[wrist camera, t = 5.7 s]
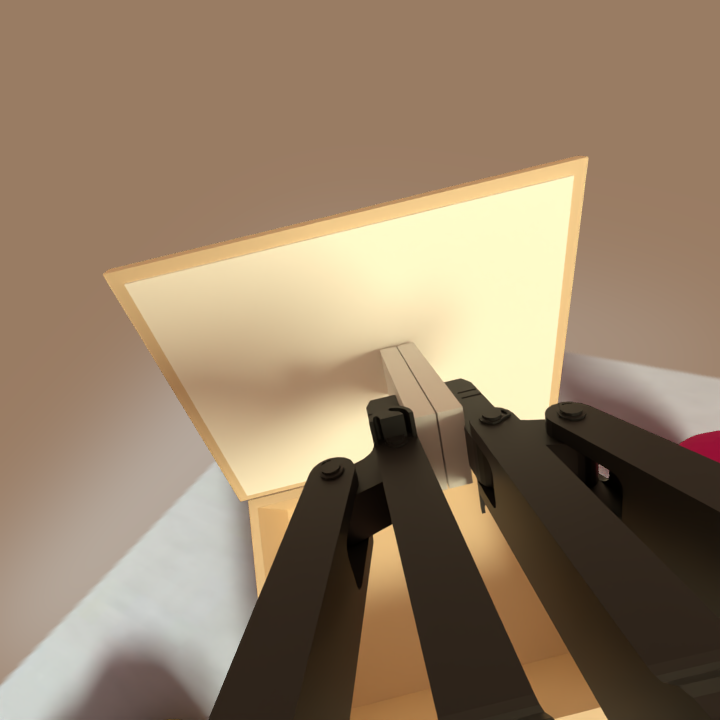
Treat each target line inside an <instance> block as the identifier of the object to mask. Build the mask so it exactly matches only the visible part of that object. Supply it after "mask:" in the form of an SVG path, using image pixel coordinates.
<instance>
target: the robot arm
mask: <svg viewBox="0 0 720 720" xmlns="http://www.w3.org/2000/svg"><path fill="white" fill-rule="evenodd" d="M380 355H381V360H382V364H383V369H384V374H385V379H386V384H387V388H388V393H389V396H387V397H383V398H379V399H374V400H370V401H369V403H368V405H367V407H366V410H367V414H368V419H369V426H370V430H371V434H372V439H373V443H374V447H373V450H372V451H371V453H370V454H369V455H368V456H366V457H365V458H364V459H362V460H360V461H359V462H356V463H353V462H352V461H351V460H350V459H348V458H345V457H334V458H329V459H326V460H324V461H322V462H320V463H319V464H317V465H316V466H315V467H313V469H312V470H311V472H310V473H309V476H308V478H307V481H306V483H305V485H304V488H303V490H302V493H301V495H300V498H299V500H298V502H297V505H296V507H295V510H294V512H293V515H292V517H291V520H290V522H289V524H288V527H287V529H286V532H285V534H284V537H283V539H282V541H281V544H280V546H279V549H278V551H277V554H276V556H275V559H274V561H273V563H272V566H271V568H270V571H269V573H268V576H267V578H266V580H265V583H264V585H263V588H262V590H261V593H260V595H259V598H258V600H257V602H256V605H255V607H254V610H253V612H252V615H251V617H250V619H249V622H248V624H247V627H246V629H245V632H244V634H243V637H242V639H241V641H240V644H239V646H238V649H237V651H236V654H235V656H234V658H233V661H232V663H231V666H230V668H229V671H228V673H227V675H226V678H225V680H224V683H223V685H222V688H221V690H220V693H219V695H218V697H217V700H216V702H215V705H214V707H213V710H212V712H211V714H210V717H209V719H208V720H350V714H351V707H352V700H353V692H354V685H355V677H356V670H357V662H358V655H359V647H360V640H361V633H362V625H363V618H364V610H365V603H366V595H367V588H368V581H369V573H370V566H371V558H372V551H373V543H374V540H373V535H374V534H376V533H378V532H379V531H381V530H383V529H385V528H387V527H388V526H390V525H392V524H393V529H394V533H395V537H396V542H397V546H398V550H399V554H400V559H401V563H402V567H403V572H404V576H405V580H406V584H407V589H408V593H409V597H410V602H411V606H412V610H413V615H414V619H415V623H416V627H417V632H418V636H419V640H420V645H421V649H422V653H423V658H424V662H425V666H426V670H427V675H428V679H429V683H430V688H431V692H432V696H433V700H434V705H435V709H436V713H437V718H438V720H554V718H553V717H552V716H550V715H549V714H547V713H546V712H544V710H543V708H542V707H541V705H540V704H539V702H538V700H537V698H536V696H535V694H534V691H533V689H532V687H531V685H530V682H529V680H528V678H527V676H526V674H525V671H524V669H523V667H522V665H521V663H520V660H519V658H518V656H517V654H516V652H515V649H514V647H513V645H512V643H511V641H510V638H509V636H508V634H507V632H506V630H505V627H504V625H503V623H502V621H501V619H500V616H499V614H498V612H497V610H496V608H495V605H494V603H493V601H492V599H491V597H490V594H489V592H488V590H487V588H486V586H485V583H484V581H483V579H482V577H481V575H480V572H479V570H478V568H477V566H476V563H475V561H474V559H473V557H472V555H471V552H470V550H469V548H468V546H467V544H466V541H465V539H464V537H463V535H462V533H461V530H460V528H459V526H458V524H457V522H456V519H455V517H454V515H453V513H452V511H451V508H450V506H449V504H448V502H447V500H446V497H445V495H444V493H443V491H442V490H446V489H448V487H449V489H450V488H455V487H459V486H463V485H467V484H471V483H473V479H472V472H471V469H472V471H473V473H474V474H475V476H476V478H477V484H478V492H479V499H480V507H481V511H482V514H483V513H486V511H485V505H486V506H487V508H488V510H489V511H490V513H491V515H492V517H493V518H494V520H495V522H496V524H497V526H498V527H499V529H500V531H501V533H502V534H503V536H504V538H505V540H506V541H507V543H508V545H509V547H510V548H511V550H512V552H513V554H514V555H515V557H516V559H517V561H518V563H519V564H520V566H521V568H522V570H523V571H524V573H525V575H526V577H527V578H528V580H529V582H530V584H531V585H532V587H533V589H534V591H535V592H536V594H537V596H538V598H539V600H540V601H541V603H542V605H543V607H544V608H545V610H546V612H547V614H548V615H549V617H550V619H551V621H552V622H553V624H554V626H555V628H556V629H557V631H558V633H559V635H560V637H561V638H562V640H563V642H564V644H565V645H566V647H567V649H568V651H569V652H570V654H571V656H572V658H573V659H574V661H575V663H576V665H577V666H578V668H579V670H580V672H581V674H582V675H583V677H584V679H585V681H586V682H587V684H588V686H589V688H590V689H591V691H592V693H593V695H594V696H595V698H596V700H597V702H598V703H599V705H600V707H601V709H602V711H603V712H604V714H605V716H606V718H607V719H608V720H720V463H719V462H717V461H714V460H712V459H710V458H707V457H705V456H703V455H701V454H698V453H696V452H694V451H691V450H689V449H687V448H685V447H682V446H680V445H678V444H675V443H673V442H671V441H669V440H666V439H664V438H662V437H660V436H657V435H655V434H653V433H650V432H648V431H646V430H644V429H641V428H639V427H637V426H634V425H632V424H630V423H628V422H625V421H623V420H621V419H618V418H616V417H614V416H612V415H609V414H607V413H605V412H602V411H600V410H598V409H596V408H593V407H591V406H588V405H585V404H582V403H575V402H561V403H557V404H554V405H551V406H550V407H548V408H547V409H546V411H545V419H539V420H520V419H519V418H518V417H517V416H516V415H515V414H514V413H513V412H511V411H510V410H508V409H504V408H501V407H494V406H493V405H492V404H491V403H490V402H489V400H488V399H487V398H486V397H485V396H484V395H483V394H481V392H480V391H479V390H478V389H477V388H476V387H475V386H474V385H473V384H472V382H470V381H467V380H464V379H462V378H460V379H455V380H451V381H447V382H443V381H442V379H441V378H440V377H439V375H438V374H437V373H436V371H435V370H434V369H433V367H432V366H431V365H430V364H429V362H428V361H427V360H426V358H425V357H424V356H423V354H422V353H421V352H420V350H419V349H418V348H417V347H416V345H415V344H414V343H413V342H412V343H407V344H403V345H399V346H397V347H396V346H395V347H390V348H386V349H382V350H380ZM599 464H600V465H602V466H603V467H605V468H607V469H608V470H609V478H606V477H604V476H602V475H601V474H599V473H598V468H599ZM447 484H448V486H447Z"/></svg>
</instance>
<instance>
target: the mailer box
mask: <svg viewBox="0 0 720 720" xmlns="http://www.w3.org/2000/svg"><path fill="white" fill-rule="evenodd" d="M471 472H472V479H473V483H471V484H467V485H463V486H459V487H455V488H450V489H449V487H448V489H446V490H442V491H443V493H444V495H445V497H446V500H447V502H448V504H449V506H450V508H451V511H452V513H453V515H454V517H455V519H456V522H457V524H458V526H459V528H460V530H461V533H462V535H463V537H464V539H465V541H466V544H467V546H468V548H469V550H470V552H471V555H472V557H473V559H474V561H475V563H476V566H477V568H478V570H479V572H480V575H481V577H482V579H483V581H484V583H485V586H486V588H487V590H488V592H489V594H490V597H491V599H492V601H493V603H494V605H495V608H496V610H497V612H498V614H499V616H500V619H501V621H502V623H503V625H504V627H505V630H506V632H507V634H508V636H509V638H510V641H511V643H512V645H513V647H514V649H515V652H516V654H517V656H518V658H519V660H520V663H521V665H522V667H523V669H524V671H525V674H526V676H527V678H528V680H529V682H530V685H531V687H532V689H533V691H534V694H535V696H536V698H537V700H538V702H539V704H540V705H541V707H542V708H543V710H544V712H546V713H547V714H549V715H550V716H552V717H553V718H554V720H608V719H607V718H606V716H605V714H604V712H603V711H602V709H601V707H600V705H599V703H598V702H597V700H596V698H595V696H594V695H593V693H592V691H591V689H590V688H589V686H588V684H587V682H586V681H585V679H584V677H583V675H582V674H581V672H580V670H579V668H578V666H577V665H576V663H575V661H574V659H573V658H572V656H571V654H570V652H569V651H568V649H567V647H566V645H565V644H564V642H563V640H562V638H561V637H560V635H559V633H558V631H557V629H556V628H555V626H554V624H553V622H552V621H551V619H550V617H549V615H548V614H547V612H546V610H545V608H544V607H543V605H542V603H541V601H540V600H539V598H538V596H537V594H536V592H535V591H534V589H533V587H532V585H531V584H530V582H529V580H528V578H527V577H526V575H525V573H524V571H523V570H522V568H521V566H520V564H519V563H518V561H517V559H516V557H515V555H514V554H513V552H512V550H511V548H510V547H509V545H508V543H507V541H506V540H505V538H504V536H503V534H502V533H501V531H500V529H499V527H498V526H497V524H496V522H495V520H494V518H493V517H492V515H491V513H490V511H489V510H488V508H487V506H486V505H485V511H486V513H483V514H482V511H481V507H480V499H479V492H478V484H477V478H476V476H475V474H474V473H473V471H472V469H471ZM447 486H448V484H447ZM303 488H304V487H301V488H297V489H293V490H289V491H285V492H281V493H277V494H273V495H269V496H265V497H261V498H257V499H253V500H249V501H248V505H249V515H250V524H251V534H252V544H253V554H254V564H255V574H256V584H257V594H258V598H259V595H260V593H261V590H262V588H263V585H264V583H265V580H266V578H267V576H268V573H269V571H270V568H271V566H272V563H273V561H274V559H275V556H276V554H277V551H278V549H279V546H280V544H281V541H282V539H283V537H284V534H285V532H286V529H287V527H288V524H289V522H290V520H291V517H292V515H293V512H294V510H295V507H296V505H297V502H298V500H299V498H300V495H301V493H302V490H303ZM373 540H374V543H373V551H372V558H371V566H370V573H369V581H368V588H367V595H366V603H365V610H364V618H363V625H362V633H361V640H360V647H359V655H358V662H357V670H356V677H355V685H354V692H353V700H352V707H351V714H350V720H438V718H437V713H436V709H435V705H434V700H433V696H432V692H431V688H430V683H429V679H428V675H427V670H426V666H425V662H424V658H423V653H422V649H421V645H420V640H419V636H418V632H417V627H416V623H415V619H414V615H413V610H412V606H411V602H410V597H409V593H408V589H407V584H406V580H405V576H404V572H403V567H402V563H401V559H400V554H399V550H398V546H397V542H396V537H395V533H394V529H393V524H392V525H390V526H388V527H387V528H385V529H383V530H381V531H379V532H378V533H376V534H374V535H373Z"/></svg>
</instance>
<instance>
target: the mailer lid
mask: <svg viewBox="0 0 720 720" xmlns="http://www.w3.org/2000/svg"><path fill="white" fill-rule="evenodd" d="M587 165H588V157H586V156H575V157H571V158H567V159H563V160H558V161H554V162H550V163H546V164H542V165H538V166H534V167H530V168H526V169H521V170H517V171H513V172H509V173H505V174H501V175H496V176H492V177H488V178H484V179H480V180H476V181H472V182H468V183H463V184H460V185H455V186H451V187H447V188H443V189H439V190H434V191H430V192H426V193H423V194H418V195H414V196H410V197H406V198H401V199H398V200H393V201H389V202H385V203H381V204H377V205H373V206H368V207H364V208H360V209H356V210H352V211H348V212H344V213H340V214H335V215H331V216H328V217H323V218H319V219H315V220H311V221H307V222H303V223H298V224H294V225H290V226H286V227H282V228H278V229H273V230H269V231H266V232H261V233H257V234H253V235H249V236H244V237H240V238H236V239H232V240H228V241H224V242H220V243H215V244H211V245H207V246H203V247H199V248H195V249H191V250H186V251H183V252H179V253H174V254H170V255H166V256H162V257H158V258H153V259H150V260H145V261H142V262H137V263H133V264H129V265H125V266H120V267H116V268H112V269H109V270H108V271H107V272H105V273H104V274H103V276H104V278H105V279H106V281H107V283H108V284H109V286H110V288H111V289H112V291H113V292H114V294H115V296H116V297H117V299H118V301H119V302H120V304H121V306H122V307H123V309H124V310H125V312H126V314H127V315H128V317H129V319H130V320H131V322H132V324H133V325H134V327H135V329H136V330H137V332H138V334H139V335H140V337H141V338H142V340H143V342H144V343H145V345H146V347H147V348H148V350H149V352H150V353H151V355H152V357H153V358H154V360H155V361H156V363H157V365H158V367H159V368H160V370H161V372H162V373H163V375H164V376H165V378H166V380H167V381H168V383H169V385H170V386H171V388H172V390H173V391H174V393H175V395H176V396H177V398H178V400H179V401H180V403H181V404H182V406H183V408H184V409H185V411H186V413H187V414H188V416H189V417H190V419H191V421H192V423H193V424H194V426H195V428H196V429H197V431H198V432H199V434H200V436H201V437H202V439H203V441H204V442H205V444H206V446H207V447H208V449H209V451H210V452H211V454H212V456H213V457H214V459H215V461H216V462H217V464H218V465H219V467H220V469H221V470H222V472H223V474H224V475H225V477H226V479H227V480H228V482H229V484H230V485H231V487H232V489H233V490H234V492H235V493H236V495H237V497H238V498H239V500H240V502H241V501H245V500H249V499H253V498H257V497H261V496H265V495H269V494H273V493H277V492H281V491H285V490H289V489H293V488H297V487H301V486H304V485H305V483H306V481H307V478H308V476H309V473H310V472H311V470H312V469H313V467H315V466H316V465H317V464H319V463H320V462H322V461H324V460H326V459H329V458H334V457H345V458H348V459H350V460H351V461H352V462H353V463H356V462H359V461H360V460H362V459H364V458H365V457H366V456H368V455H369V454H370V453H371V451H372V450H373V447H374V443H373V439H372V434H371V430H370V426H369V419H368V414H367V410H366V407H367V405H368V403H369V401H370V400H374V399H379V398H383V397H387V396H389V393H388V388H387V384H386V379H385V374H384V369H383V364H382V360H381V355H380V350H382V349H386V348H390V347H395V346H396V347H397V346H399V345H403V344H407V343H412V342H413V343H414V344H415V345H416V347H417V348H418V349H419V350H420V352H421V353H422V354H423V356H424V357H425V358H426V360H427V361H428V362H429V364H430V365H431V366H432V367H433V369H434V370H435V371H436V373H437V374H438V375H439V377H440V378H441V379H442V381H443V382H447V381H451V380H455V379H460V378H462V379H464V380H467V381H470V382H472V384H473V385H474V386H475V387H476V388H477V389H478V390H479V391H480V392H481V394H483V395H484V396H485V397H486V398H487V399H488V400H489V402H490V403H491V404H492V405H493V406H494V407H501V408H504V409H508V410H510V411H511V412H513V413H514V414H515V415H516V416H517V417H518V418H519V419H520V420H539V419H545V411H546V409H547V408H548V407H550V406H551V405H554V404H557V403H558V397H559V389H560V381H561V373H562V365H563V357H564V349H565V340H566V333H567V325H568V316H569V309H570V300H571V293H572V284H573V276H574V269H575V260H576V253H577V244H578V237H579V228H580V221H581V213H582V204H583V196H584V189H585V181H586V172H587Z"/></svg>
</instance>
